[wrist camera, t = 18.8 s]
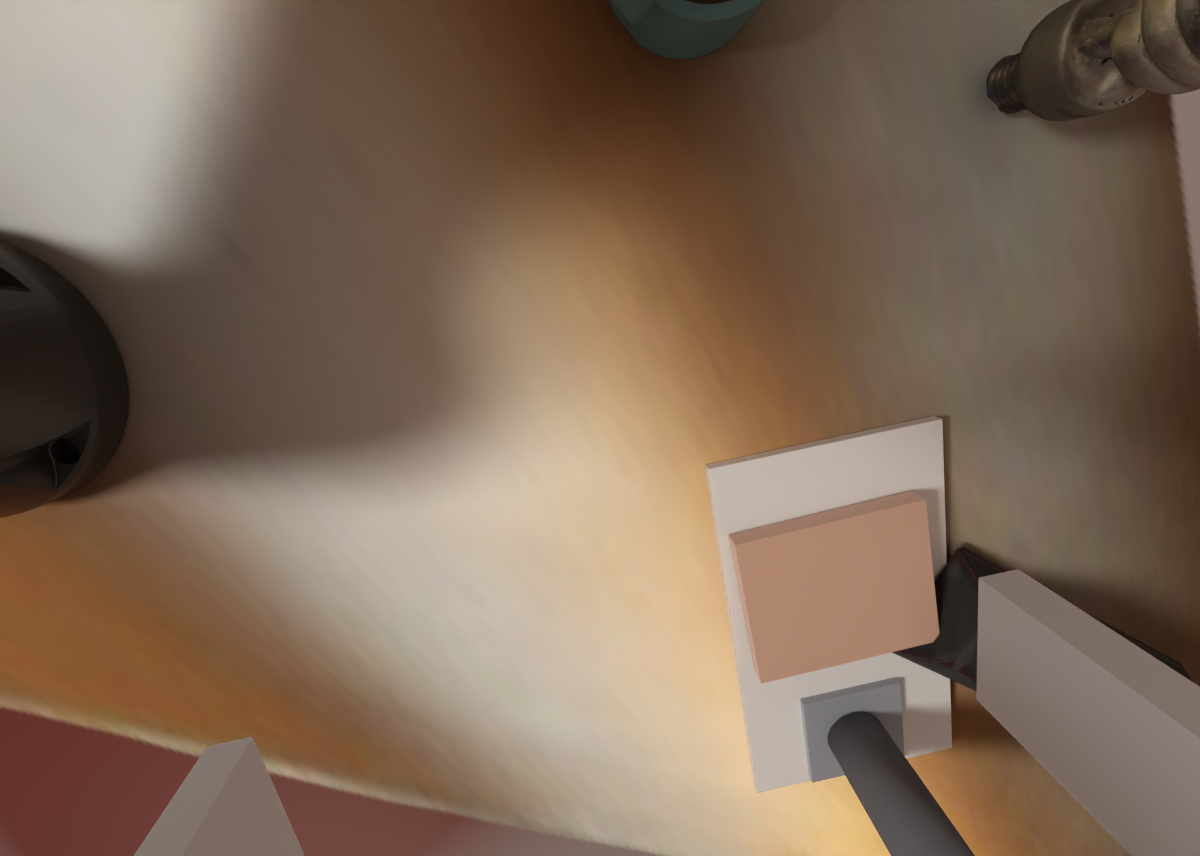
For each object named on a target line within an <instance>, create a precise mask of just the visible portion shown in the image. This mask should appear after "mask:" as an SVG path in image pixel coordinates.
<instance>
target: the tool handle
mask: <svg viewBox="0 0 1200 856" xmlns="http://www.w3.org/2000/svg"><path fill="white" fill-rule="evenodd" d="M828 745H829V747H830V749H831V751H832V752H833V754H834V756H835V758H836V759H837V761H838V763H839V765H840V766H841V768H842V770H843V772H844V773H845V775H846V777H847V779H848V780H849V782H850V784H851V786H852V787H853V789H854V791H855V793H856V794H857V796H858V798H859V800H860V802H861V803H862V805H863V807H864V809H865V810H866V812H867V814H868V816H869V817H870V819H871V821H872V823H873V824H874V826H875V828H876V830H877V831H878V833H879V835H880V837H881V838H882V840H883V842H884V844H885V845H886V847H887V849H888V851H889V853H890V854H891V856H975V855H974V854H973V853H972V851H971V850H970V848H969V847H968V846H967V844H966V843H965V841H964V840H963V838H962V837H961V836H960V834H959V833H958V831H957V830H956V829H955V827H954V826H953V824H952V823H951V821H950V820H949V819H948V817H947V816H946V814H945V813H944V812H943V810H942V809H941V807H940V806H939V805H938V803H937V802H936V800H935V799H934V797H933V796H932V795H931V793H930V792H929V790H928V789H927V788H926V786H925V785H924V783H923V782H922V780H921V779H920V778H919V776H918V775H917V773H916V772H915V771H914V769H913V768H912V766H911V765H910V763H909V762H908V761H907V759H906V758H905V756H904V755H903V754H902V752H901V751H900V749H899V748H898V747H897V745H896V744H895V742H894V741H893V739H892V738H891V737H890V735H889V734H888V732H887V731H886V730H885V728H884V727H883V725H882V724H881V722H880V721H879V720H878V718H877V717H876V716H874V715H872V714H870V713H867V712H853V713H849V714H847V715H845V716H843V717H841V718H840V719H838V720H837V721H836V722H835V723H834V724H833V725H832V727H831V728H830V730H829V733H828Z"/></svg>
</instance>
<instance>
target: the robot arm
mask: <svg viewBox="0 0 1200 856" xmlns="http://www.w3.org/2000/svg"><path fill="white" fill-rule="evenodd" d="M127 413H128V387H127V380H126V375H125V370H124V366H123V363H122V360H121V357H120V354H119V352H118V349H117V347H116V344H115V342H114V340H113V338H112V336H111V334H110V333H109V331H108V329H107V327H106V326H105V324H104V322H103V321H102V319H101V318H100V316H99V315H98V314H97V312H96V311H95V310H94V308H93V307H92V306H91V305H90V304H89V302H88V301H87V300H86V299H85V298H84V297H83V296H82V295H81V294H80V292H79V291H78V290H77V289H76V288H75V287H73V286H72V285H71V284H70V283H69V282H68V281H67V280H66V279H65V278H63V277H62V276H61V275H60V274H58V273H57V272H56V271H54V270H53V269H52V268H50V267H49V266H48V265H46V264H45V263H43V262H41V261H40V260H38V259H37V258H35V257H33V256H31V255H30V254H28V253H26V252H24V251H22V250H20V249H18V248H16V247H14V246H12V245H9V244H7V243H4V242H2V241H0V518H2V517H7V516H11V515H15V514H19V513H23V512H26V511H29V510H32V509H35V508H37V507H40V506H42V505H44V504H46V503H48V502H50V501H53V500H55V499H57V498H59V497H61V496H63V495H65V494H67V493H69V492H71V491H73V490H75V489H77V488H79V487H80V486H82V485H84V484H85V483H86V482H88V481H89V480H90V479H92V478H93V477H94V476H95V475H96V474H97V473H99V472H100V470H101V469H102V468H103V467H104V466H105V465H106V464H107V462H108V461H109V460H110V458H111V457H112V455H113V454H114V452H115V451H116V449H117V447H118V445H119V443H120V440H121V438H122V435H123V432H124V428H125V425H126V420H127ZM976 700H977V701H978V702H979V703H980V704H981V705H982V706H983V707H984V708H985V709H986V710H987V711H988V712H989V713H990V714H991V715H992V716H993V717H994V718H995V719H996V720H997V721H998V722H999V723H1000V724H1001V725H1002V726H1003V727H1004V728H1005V729H1006V730H1007V731H1008V732H1009V733H1010V734H1011V735H1012V736H1013V737H1014V738H1015V739H1016V740H1017V741H1018V742H1019V743H1020V744H1021V745H1022V746H1023V747H1024V748H1025V749H1026V750H1027V751H1028V752H1029V753H1030V754H1031V755H1032V756H1033V757H1034V758H1035V759H1036V760H1037V761H1038V762H1039V763H1040V764H1041V765H1042V766H1043V767H1044V768H1045V769H1046V770H1047V771H1048V772H1049V773H1050V774H1051V775H1052V776H1053V777H1054V778H1055V779H1056V780H1057V781H1058V782H1059V783H1060V784H1061V785H1062V786H1063V787H1064V788H1065V789H1066V790H1067V791H1068V792H1069V793H1070V794H1071V795H1072V796H1073V797H1074V798H1075V799H1076V800H1077V801H1078V802H1079V803H1080V804H1081V805H1082V806H1083V807H1084V808H1085V809H1086V810H1087V811H1088V812H1089V813H1090V814H1091V815H1092V816H1093V817H1094V818H1095V819H1096V820H1097V821H1098V822H1099V823H1100V824H1101V825H1102V826H1103V827H1104V828H1105V829H1106V830H1107V832H1108V833H1109V834H1110V835H1111V836H1112V837H1113V838H1114V839H1115V840H1116V841H1117V842H1118V843H1119V844H1120V845H1121V846H1122V847H1123V848H1124V849H1125V850H1126V851H1127V852H1128V853H1129V854H1130V855H1131V856H1200V687H1199V686H1198V685H1196V684H1195V683H1193V682H1192V681H1190V680H1189V679H1187V678H1186V677H1184V676H1182V675H1181V674H1179V673H1178V672H1176V671H1175V670H1173V669H1172V668H1170V667H1169V666H1167V665H1165V664H1164V663H1162V662H1161V661H1159V660H1158V659H1156V658H1155V657H1153V656H1152V655H1150V654H1149V653H1147V652H1145V651H1144V650H1142V649H1141V648H1139V647H1138V646H1136V645H1135V644H1133V643H1132V642H1130V641H1128V640H1127V639H1125V638H1124V637H1122V636H1121V635H1119V634H1118V633H1116V632H1115V631H1113V630H1111V629H1110V628H1108V627H1107V626H1105V625H1104V624H1102V623H1101V622H1099V621H1098V620H1096V619H1095V618H1093V617H1091V616H1090V615H1088V614H1087V613H1085V612H1084V611H1082V610H1081V609H1079V608H1078V607H1076V606H1074V605H1073V604H1071V603H1070V602H1068V601H1067V600H1065V599H1064V598H1062V597H1061V596H1059V595H1058V594H1056V593H1054V592H1053V591H1051V590H1050V589H1048V588H1047V587H1045V586H1044V585H1042V584H1041V583H1039V582H1037V581H1036V580H1034V579H1033V578H1031V577H1030V576H1028V575H1027V574H1025V573H1024V572H1022V571H1020V570H1019V569H1016V570H1012V571H1007V572H1003V573H998V574H994V575H989V576H984V577H980V578H979V585H978V640H977V695H976ZM303 855H304V854H303V851H302V849H301V847H300V844H299V842H298V840H297V837H296V835H295V833H294V831H293V829H292V826H291V824H290V821H289V819H288V817H287V815H286V812H285V810H284V808H283V805H282V803H281V801H280V799H279V796H278V794H277V792H276V790H275V787H274V785H273V783H272V780H271V778H270V776H269V774H268V771H267V769H266V767H265V764H264V762H263V760H262V758H261V755H260V753H259V751H258V748H257V746H256V744H255V742H254V739H253V737H249V738H244V739H240V740H235V741H231V742H226V743H221V744H217V745H212V746H208V747H207V748H206V749H205V750H204V752H203V753H202V755H201V756H200V758H199V759H198V761H197V763H196V764H195V765H194V767H193V768H192V770H191V771H190V773H189V775H188V776H187V777H186V779H185V781H184V782H183V783H182V785H181V786H180V788H179V789H178V791H177V792H176V794H175V795H174V797H173V798H172V800H171V801H170V803H169V804H168V806H167V807H166V809H165V810H164V812H163V813H162V815H161V816H160V818H159V819H158V821H157V822H156V824H155V825H154V827H153V828H152V830H151V831H150V833H149V834H148V836H147V837H146V838H145V840H144V841H143V843H142V844H141V846H140V847H139V849H138V850H137V852H136V854H135V855H134V856H303Z"/></svg>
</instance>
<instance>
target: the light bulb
mask: <svg viewBox="0 0 1200 856" xmlns="http://www.w3.org/2000/svg"><path fill="white" fill-rule="evenodd" d="M1197 89H1200V0H1071V1H1069V2H1067V3H1065V4H1064V5H1062V6H1060V7H1058V8H1057V9H1055V10H1054V11H1052V12H1051V13H1050V14H1048V15H1047V16H1046V17H1045V18H1044V19H1043V20H1042V21H1041V22H1040V23H1039V24H1038V25H1037V26H1036V27H1035V28H1034V29H1033V30H1032V32H1031V33H1030V35H1029V36H1028V38H1027V40H1026V41H1025V43H1024V45H1023V47H1022V49H1021V52H1020V53H1018V54H1015V55H1009V56H1006V57H1004V58H1002V59H1001V60H1000V61H999V62H998V63H997V64H996V65H995V66H994V67H993V68H992V70H991V71H990V73H989V75H988V78H987V95H988V97H989V98H990V99H991V100H993V101H994V102H995V103H996V104H997V106H998V108H999V110H1000V111H1002V112H1005V113H1016V112H1019V111H1021V110H1025V109H1028V110H1029V111H1030V112H1032V113H1033V114H1035V115H1037V116H1039V117H1041V118H1043V119H1046V120H1050V121H1067V120H1073V119H1078V118H1084V117H1089V116H1093V115H1097V114H1100V113H1103V112H1106V111H1109V110H1113V109H1116V108H1120V107H1123V106H1125V105H1127V104H1129V103H1131V102H1132V101H1134V100H1136V99H1137V98H1139V97H1140V96H1141V95H1143V94H1144V93H1145V92H1146V91H1147V90H1148V91H1151V92H1154V93H1157V94H1169V95H1170V94H1181V93H1185V92H1190V91H1194V90H1197Z"/></svg>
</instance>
